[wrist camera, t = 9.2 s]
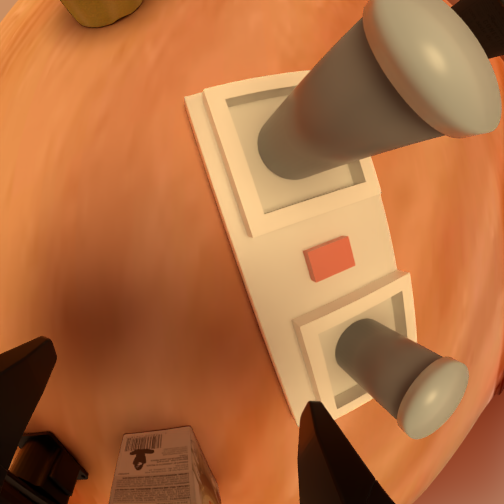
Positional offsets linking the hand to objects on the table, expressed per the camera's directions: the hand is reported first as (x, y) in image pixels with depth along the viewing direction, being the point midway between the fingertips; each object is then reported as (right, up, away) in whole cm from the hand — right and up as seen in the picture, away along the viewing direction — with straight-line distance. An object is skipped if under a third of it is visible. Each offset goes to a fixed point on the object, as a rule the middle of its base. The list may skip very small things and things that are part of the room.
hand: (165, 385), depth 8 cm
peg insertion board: (+7, +4, +12) cm, 14 cm away
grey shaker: (+5, +11, +9) cm, 15 cm away
